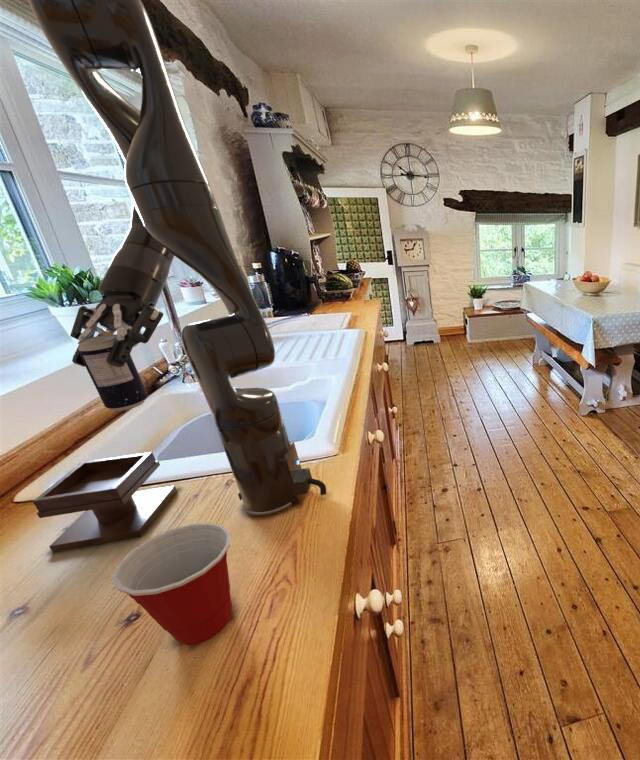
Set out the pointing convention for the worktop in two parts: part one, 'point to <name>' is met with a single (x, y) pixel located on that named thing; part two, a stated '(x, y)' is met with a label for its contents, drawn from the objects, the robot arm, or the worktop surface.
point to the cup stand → (105, 500)
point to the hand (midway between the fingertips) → (97, 364)
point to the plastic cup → (181, 580)
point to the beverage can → (112, 374)
